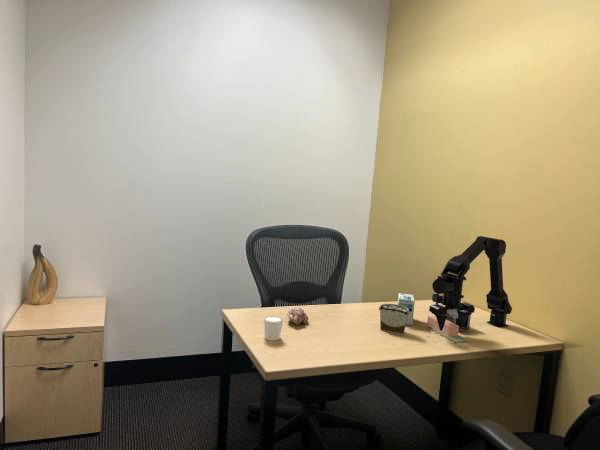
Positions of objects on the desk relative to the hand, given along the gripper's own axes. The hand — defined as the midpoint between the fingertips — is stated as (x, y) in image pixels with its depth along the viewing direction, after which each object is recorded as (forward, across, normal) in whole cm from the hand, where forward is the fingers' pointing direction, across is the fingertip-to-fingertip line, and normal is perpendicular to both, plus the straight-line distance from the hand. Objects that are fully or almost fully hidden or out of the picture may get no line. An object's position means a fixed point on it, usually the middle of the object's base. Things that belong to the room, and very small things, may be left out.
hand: (449, 329), depth 185 cm
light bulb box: (+3, +7, -20) cm, 21 cm away
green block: (+3, 0, 0) cm, 3 cm away
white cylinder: (+3, +70, -15) cm, 72 cm away
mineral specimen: (+3, +54, -28) cm, 61 cm away
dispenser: (+3, -10, -9) cm, 14 cm away
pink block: (+2, 0, -4) cm, 5 cm away
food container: (+3, +19, -11) cm, 22 cm away
